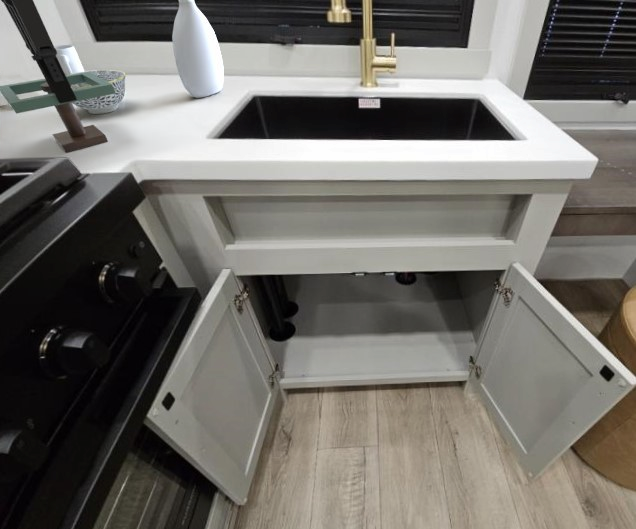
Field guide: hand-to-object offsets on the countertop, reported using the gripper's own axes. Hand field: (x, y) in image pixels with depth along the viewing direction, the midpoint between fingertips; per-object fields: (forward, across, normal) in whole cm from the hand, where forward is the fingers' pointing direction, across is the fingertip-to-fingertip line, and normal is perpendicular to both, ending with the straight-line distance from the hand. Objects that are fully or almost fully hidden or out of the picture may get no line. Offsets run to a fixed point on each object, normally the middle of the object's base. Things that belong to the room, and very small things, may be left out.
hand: (66, 99), depth 58 cm
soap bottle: (+10, +20, -36) cm, 42 cm away
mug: (+10, +41, -9) cm, 43 cm away
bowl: (+10, +26, -10) cm, 30 cm away
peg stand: (+10, +7, 0) cm, 12 cm away
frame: (+1, +7, 0) cm, 7 cm away
